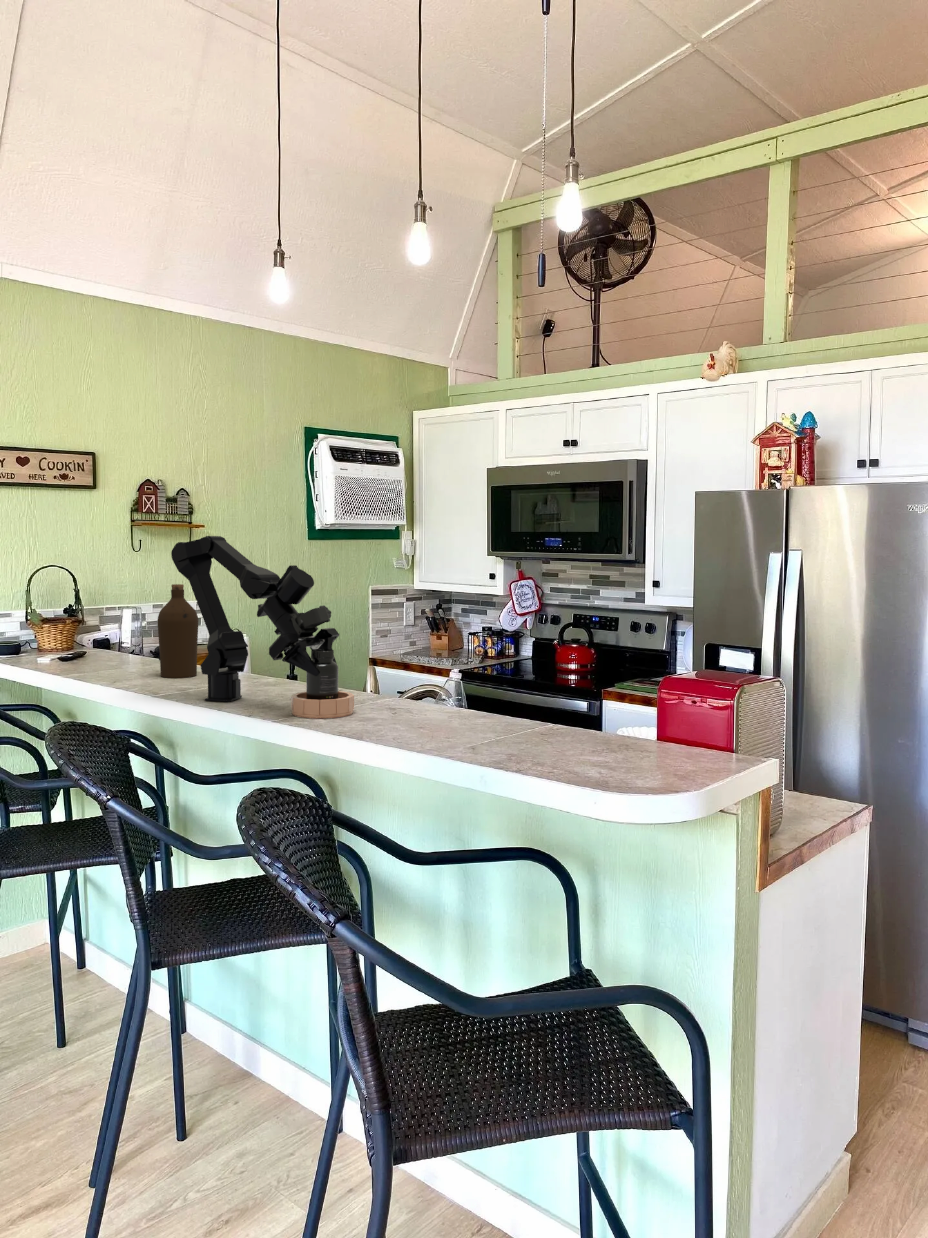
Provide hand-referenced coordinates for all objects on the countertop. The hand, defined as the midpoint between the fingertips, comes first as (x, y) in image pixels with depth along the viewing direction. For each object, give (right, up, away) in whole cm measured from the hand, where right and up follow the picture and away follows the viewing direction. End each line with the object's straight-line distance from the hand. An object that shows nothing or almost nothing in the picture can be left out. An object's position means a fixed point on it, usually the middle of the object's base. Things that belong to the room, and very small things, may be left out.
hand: (327, 672), depth 193 cm
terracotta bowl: (-1, -9, +1) cm, 9 cm away
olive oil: (-49, -4, +53) cm, 73 cm away
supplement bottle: (-1, -7, +1) cm, 7 cm away
